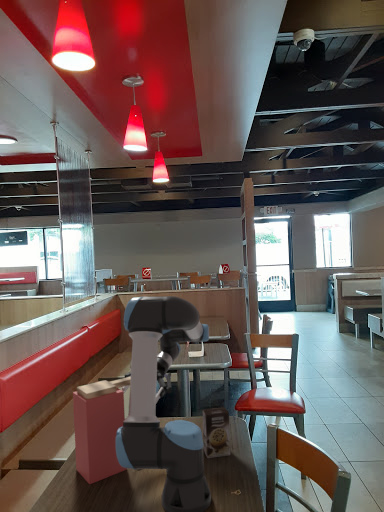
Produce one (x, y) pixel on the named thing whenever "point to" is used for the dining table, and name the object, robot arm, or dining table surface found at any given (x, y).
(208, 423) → the coffee box
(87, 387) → the tan flat paddle-shaped piece
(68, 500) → the dining table surface
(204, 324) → the robot arm
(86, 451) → the red rectangular block
